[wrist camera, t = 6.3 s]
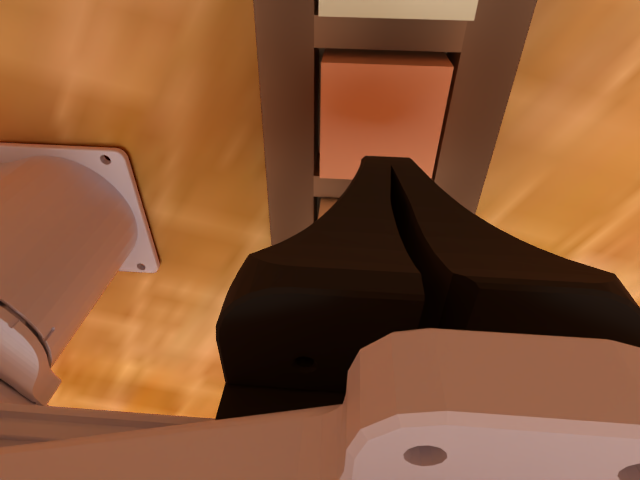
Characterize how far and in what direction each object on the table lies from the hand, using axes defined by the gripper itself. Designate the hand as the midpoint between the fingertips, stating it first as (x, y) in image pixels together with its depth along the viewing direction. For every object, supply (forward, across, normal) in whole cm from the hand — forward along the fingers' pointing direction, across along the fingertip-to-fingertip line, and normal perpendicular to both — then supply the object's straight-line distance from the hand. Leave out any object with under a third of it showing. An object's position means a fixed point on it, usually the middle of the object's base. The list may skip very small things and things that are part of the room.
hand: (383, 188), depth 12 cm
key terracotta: (+7, 0, 0) cm, 7 cm away
